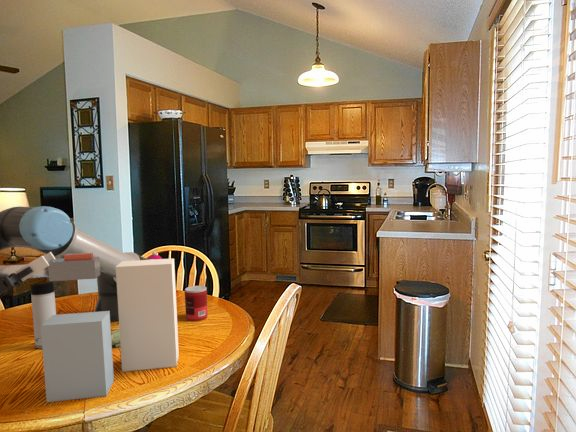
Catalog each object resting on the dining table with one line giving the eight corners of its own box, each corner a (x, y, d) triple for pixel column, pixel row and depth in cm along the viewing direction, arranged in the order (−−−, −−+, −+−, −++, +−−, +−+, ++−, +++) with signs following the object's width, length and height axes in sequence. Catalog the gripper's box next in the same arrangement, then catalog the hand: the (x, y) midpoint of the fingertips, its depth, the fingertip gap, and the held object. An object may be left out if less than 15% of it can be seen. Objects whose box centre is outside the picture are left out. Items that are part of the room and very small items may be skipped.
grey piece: (0, 280, 103) (-2, 256, 102) (100, 274, 106) (99, 251, 106) (-9, 284, 98) (-11, 259, 98) (95, 278, 102) (94, 254, 101)
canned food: (210, 314, 163) (209, 285, 162) (204, 321, 155) (202, 291, 154) (190, 314, 163) (188, 285, 162) (183, 321, 155) (181, 291, 155)
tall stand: (127, 359, 124) (121, 261, 121) (178, 354, 126) (174, 258, 124) (122, 371, 116) (115, 267, 113) (176, 366, 118) (171, 263, 116)
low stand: (58, 385, 109) (53, 314, 107) (113, 380, 111) (109, 310, 109) (46, 402, 101) (40, 325, 99) (106, 395, 103) (101, 321, 101)
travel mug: (34, 351, 132) (29, 285, 130) (35, 344, 137) (30, 281, 136) (58, 347, 134) (53, 282, 133) (58, 340, 140) (53, 278, 138)
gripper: (-14, 316, 109) (71, 264, 111) (-56, 341, 92) (45, 280, 94) (-33, 291, 107) (53, 240, 110) (-79, 312, 90) (24, 251, 93)
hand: (49, 258), depth 102 cm, fingers closed on grey piece, 4 cm apart
